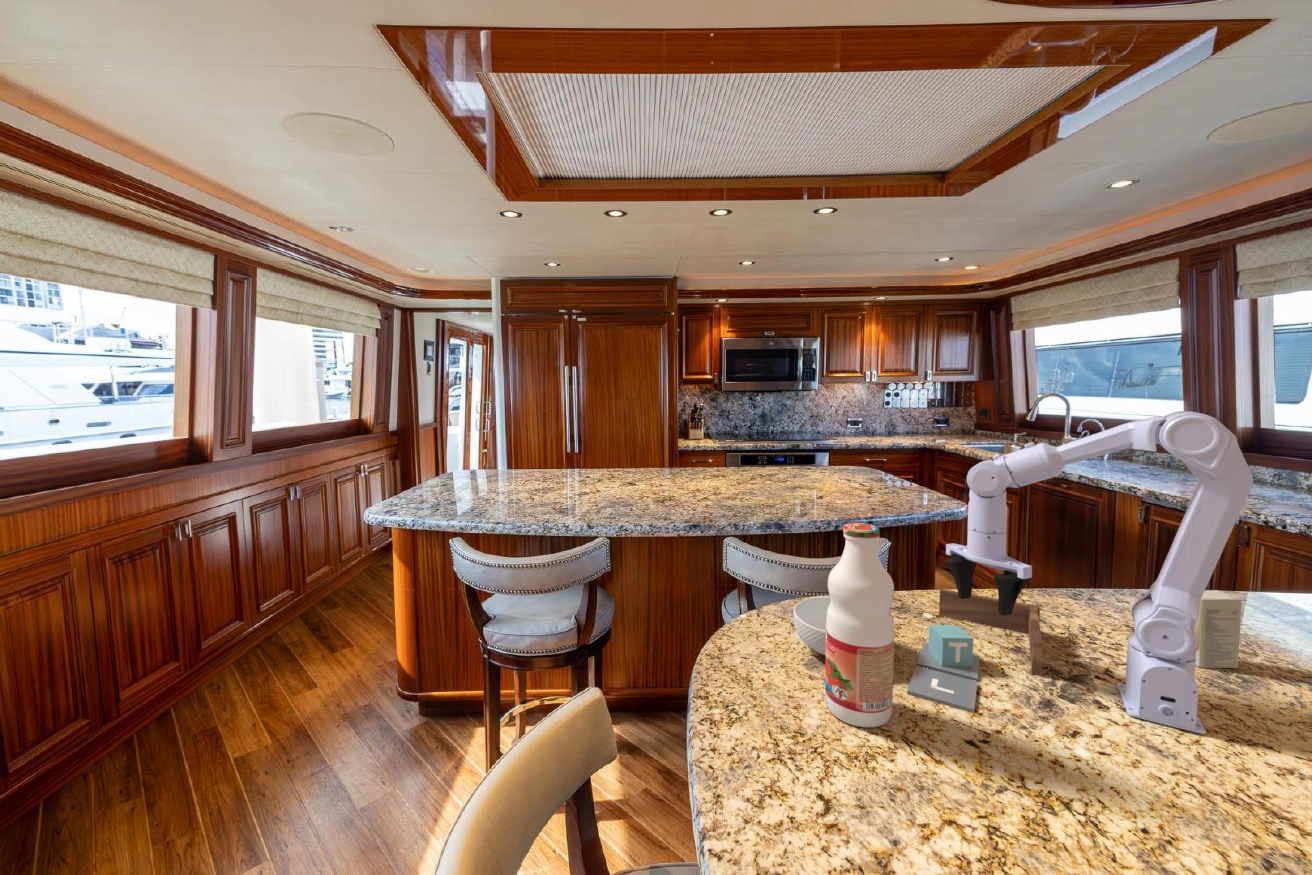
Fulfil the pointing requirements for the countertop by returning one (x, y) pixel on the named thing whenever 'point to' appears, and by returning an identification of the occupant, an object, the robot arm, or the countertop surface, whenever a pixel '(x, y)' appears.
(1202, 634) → the skincare box
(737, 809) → the countertop surface
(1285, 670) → the countertop surface
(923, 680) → the tile
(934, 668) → the tile
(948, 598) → the walnut screen
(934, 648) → the light blue cube
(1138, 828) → the countertop surface
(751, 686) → the countertop surface
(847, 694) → the fruit juice
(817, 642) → the cereal bowl
